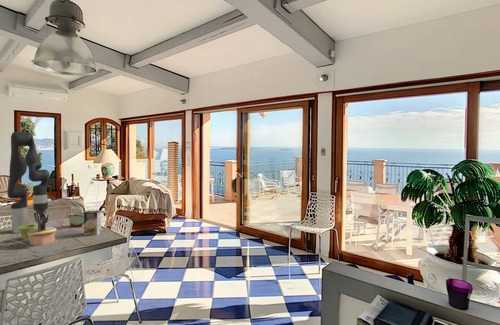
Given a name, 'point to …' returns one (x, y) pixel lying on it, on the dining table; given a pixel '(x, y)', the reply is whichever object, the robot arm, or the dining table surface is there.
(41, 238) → the terracotta bowl
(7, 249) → the dining table surface
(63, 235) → the charcoal mat
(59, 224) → the dining table surface
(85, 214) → the coffee box
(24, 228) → the plant pot
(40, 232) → the oak lid
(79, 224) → the food container
